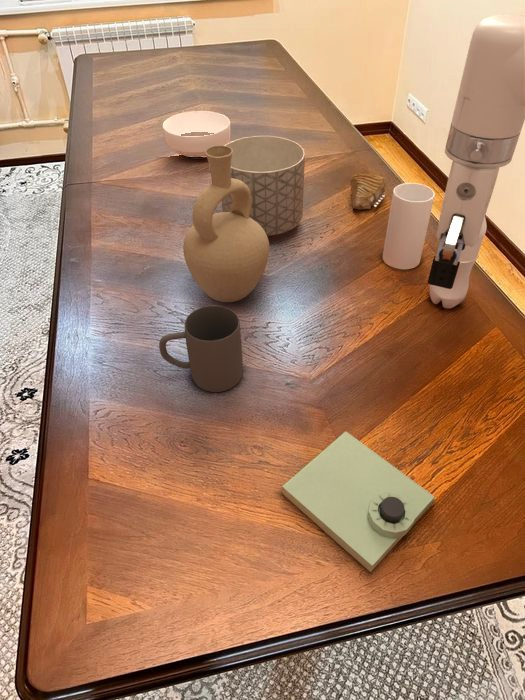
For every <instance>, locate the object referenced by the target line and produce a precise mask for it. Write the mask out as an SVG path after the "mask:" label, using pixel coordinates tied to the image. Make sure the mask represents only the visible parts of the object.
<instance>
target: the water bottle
mask: <svg viewBox="0 0 525 700" xmlns="http://www.w3.org/2000/svg"><path fill="white" fill-rule="evenodd" d="M487 226H488V225H487V220H486V216H485V217H484V221H483V224H482V227H481V230H480V233H479V236H478V239H477V243H476V245H474V246H473V247H470V246H468V245H465V248H464V250H461V254H460V257H459V260H458V262H460V264H459V268H458V271H457V274H456V278H455V281H454V284H453V287H452V289H447V288H443V287H439V286H434V285H430V284H429V289H428V291H429V299H430V300H431V302H432V304H434V305H438V304H439V303H441V304H442V307H443V308H444V309H452V308H454V307H456V306H457V305H460V304H462V303H463V302H464V300H465V298H466V296H467V295H468V291H469V287H470V285H469V283H470V277H471V276H470V275H471V272H472V269H473V267H474V265H475V263H476V262H477V260H478V258H479V255H480V250H481V248H482V244H483V240H484V237H485V235H486V233H487V228H488V227H487ZM443 249H444V247H443ZM454 251H456V252H457V249H455V250H454Z"/></svg>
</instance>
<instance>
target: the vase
mask: <svg viewBox="0 0 525 700" xmlns="http://www.w3.org/2000/svg"><path fill="white" fill-rule="evenodd" d="M205 154H206V156H207V157H206V158H207V161H208V165H209V171H210V179H211V180H210V181H211V184H210V185H208V186H207V187H206V188H204V190H202V191H201V193H200V194H199V195H198V197H197V199H196V200H195V202H194V205H193V208H192V209H193V210H192V224H193V225H191V226H190V227H189V229H188V230H187V232H186V234H185V237H184V239H183V245H182V247H183V250H182V251H183V256H184V261H185V264H186V266H187V269H188V271H189V273H190V275H191V277H192V278H193V281H195V283H196V285H197V286H198V287H199V288H200V289H201V291H203V293H204V294H205V295H207V297H209V298H211V299H212V300H215V301H218V302H221V303H235V302H239V301H240V300H243V299H245V298H246V297H247V296H248V295H249V294H250V293H252V291H253V290H254V289H255V288H256V286H257V284H258V283H259V281H260V280H261V279H262V276H263V274H264V272H265V270H266V267H267V265H268V262H269V257H270V256H269V255H270V241H269V238H268V237H269V236H267V235H266V233H265V231H264V229H263V228H262V227H261V226H260V225H259V224H258V223H257V222H256V221H254V220H253V219H251V218H250V217H249V215H250V211H251V203H252V200H251V192H250V189H249V188H248V186H247V185H246V184H245V183H244V182H242V181H241V180H238V179H234V178H231V158H232V154H233V150H232V149H231V148H230V147H227V146H213V147H210V148H208V149H207V150H206V151H205ZM231 193H233V203H232V209H231V212H223V211H220V212H216V213H215V210H216V209H217V207H218V205H219V204H220V203H222V200H223V199H224V198H225V197H226V196H228V195H229V194H231Z"/></svg>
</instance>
